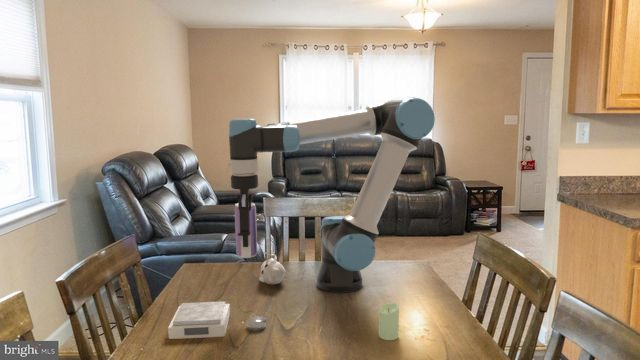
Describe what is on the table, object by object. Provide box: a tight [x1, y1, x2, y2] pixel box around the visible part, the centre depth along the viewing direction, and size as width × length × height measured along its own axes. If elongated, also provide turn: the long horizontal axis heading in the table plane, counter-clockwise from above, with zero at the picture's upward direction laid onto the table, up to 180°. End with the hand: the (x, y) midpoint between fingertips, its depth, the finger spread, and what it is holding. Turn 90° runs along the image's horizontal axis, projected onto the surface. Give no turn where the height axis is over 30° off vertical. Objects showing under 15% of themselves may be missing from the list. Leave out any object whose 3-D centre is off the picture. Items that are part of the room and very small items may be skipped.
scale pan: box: [173, 301, 227, 325], centre depth 129 cm, size 12×12×1 cm
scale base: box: [167, 303, 231, 340], centre depth 129 cm, size 14×14×3 cm
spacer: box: [246, 315, 267, 332], centre depth 129 cm, size 5×5×2 cm
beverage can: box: [234, 202, 258, 258], centre depth 137 cm, size 6×6×15 cm
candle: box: [378, 302, 400, 341], centre depth 122 cm, size 5×5×8 cm
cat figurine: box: [259, 253, 286, 285], centre depth 162 cm, size 10×8×15 cm
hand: (247, 253), depth 138 cm, fingers closed on beverage can, 6 cm apart
